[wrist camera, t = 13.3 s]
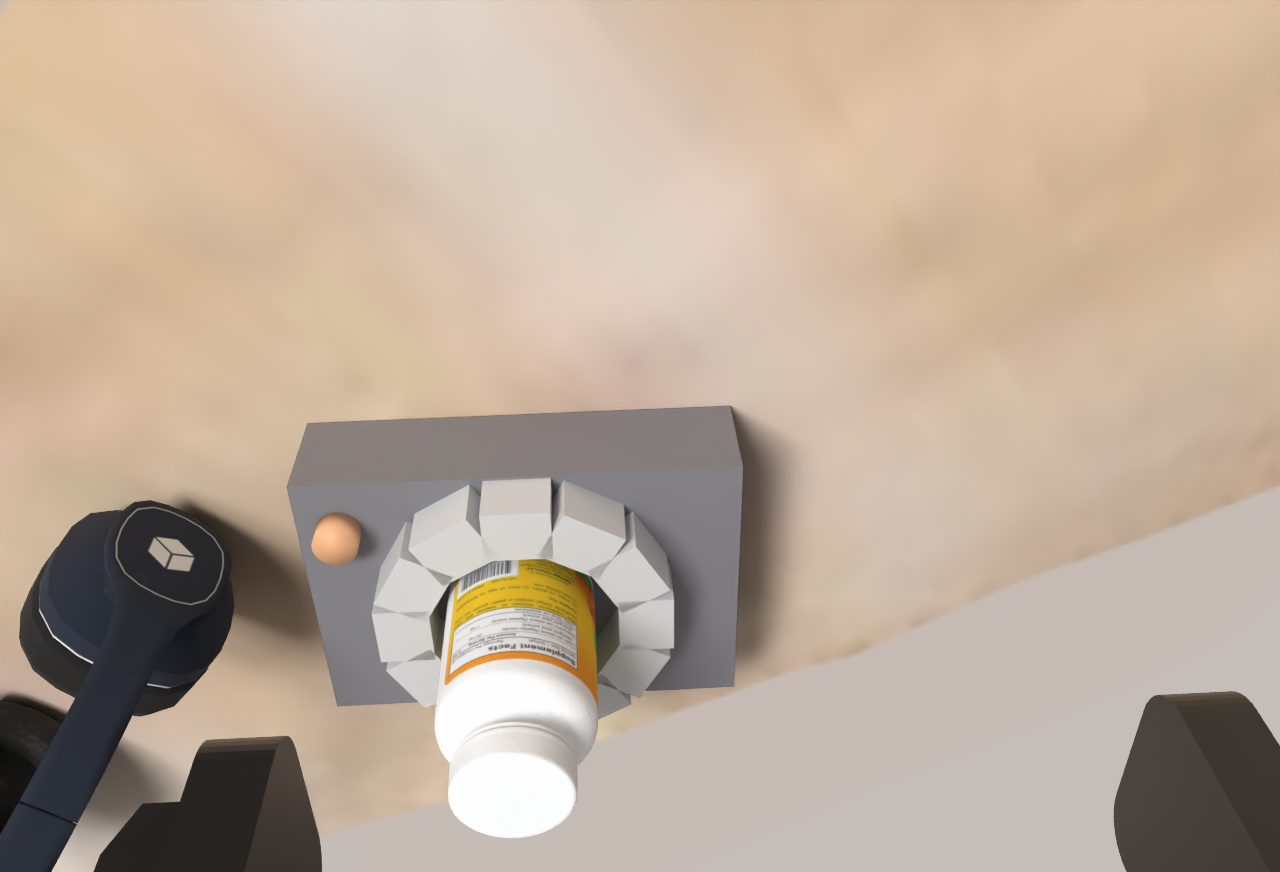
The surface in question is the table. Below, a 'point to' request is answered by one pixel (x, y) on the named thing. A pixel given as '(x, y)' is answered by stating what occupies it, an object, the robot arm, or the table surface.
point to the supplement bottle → (517, 694)
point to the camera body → (523, 538)
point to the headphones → (105, 660)
